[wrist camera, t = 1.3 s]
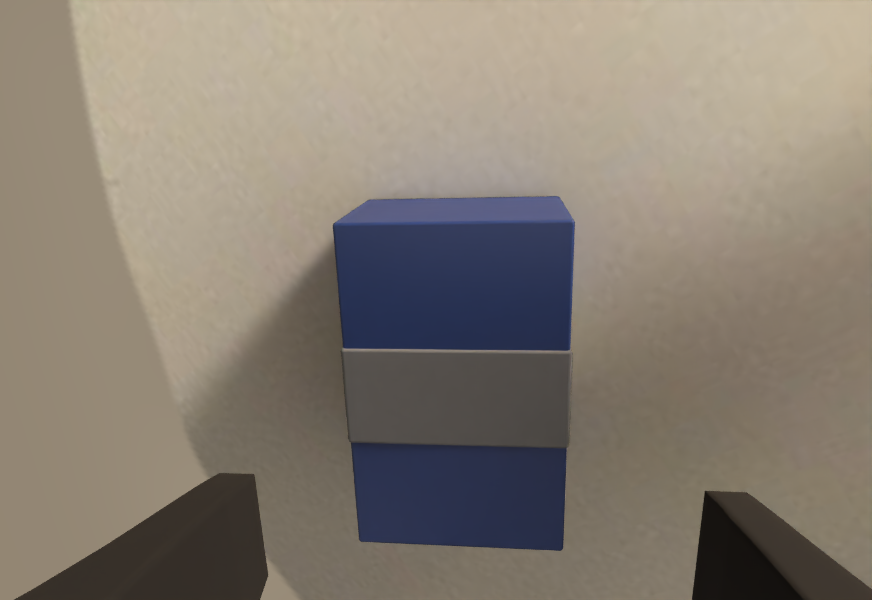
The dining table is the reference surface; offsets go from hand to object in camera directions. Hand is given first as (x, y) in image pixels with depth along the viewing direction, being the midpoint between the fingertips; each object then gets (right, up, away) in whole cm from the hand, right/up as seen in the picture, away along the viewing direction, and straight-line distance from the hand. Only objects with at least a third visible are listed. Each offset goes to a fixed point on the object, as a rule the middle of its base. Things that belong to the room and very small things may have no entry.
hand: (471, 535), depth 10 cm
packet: (0, +3, +7) cm, 8 cm away
